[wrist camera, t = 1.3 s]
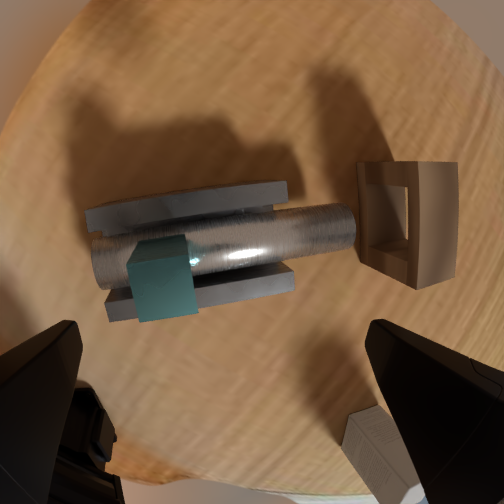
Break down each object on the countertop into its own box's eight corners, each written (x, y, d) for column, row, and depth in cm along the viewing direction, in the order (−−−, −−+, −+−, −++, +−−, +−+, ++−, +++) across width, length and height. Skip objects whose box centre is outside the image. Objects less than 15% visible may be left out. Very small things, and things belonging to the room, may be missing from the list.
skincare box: (369, 437, 31) (421, 501, 20) (339, 448, 30) (388, 519, 19) (380, 402, 30) (443, 469, 18) (348, 413, 29) (408, 489, 17)
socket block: (360, 262, 24) (416, 290, 18) (356, 162, 22) (418, 161, 16) (397, 254, 25) (454, 277, 19) (395, 161, 23) (457, 162, 17)
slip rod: (110, 280, 18) (79, 337, 11) (100, 233, 17) (58, 267, 10) (333, 243, 21) (402, 275, 14) (331, 200, 20) (404, 214, 13)
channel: (120, 294, 20) (109, 322, 16) (102, 203, 19) (84, 210, 15) (272, 269, 23) (294, 290, 18) (264, 179, 21) (286, 180, 17)
